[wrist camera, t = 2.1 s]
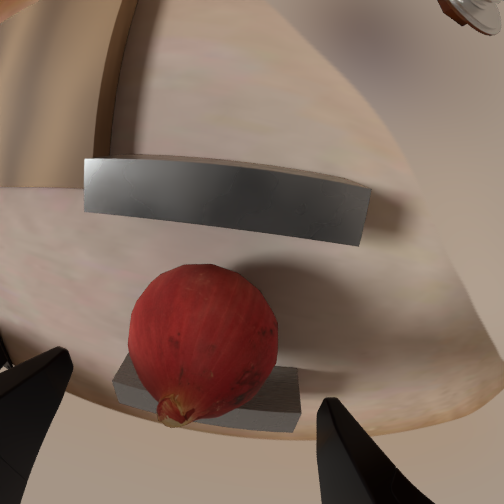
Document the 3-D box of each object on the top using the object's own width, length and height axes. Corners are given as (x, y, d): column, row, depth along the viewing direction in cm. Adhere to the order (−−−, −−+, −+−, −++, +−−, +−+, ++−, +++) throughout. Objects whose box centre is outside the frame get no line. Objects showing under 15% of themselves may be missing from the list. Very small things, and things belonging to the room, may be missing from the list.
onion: (294, 264, 13) (323, 399, 6) (250, 351, 15) (240, 479, 8) (178, 220, 13) (80, 314, 5) (153, 315, 15) (89, 428, 7)
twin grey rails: (138, 364, 16) (119, 402, 13) (126, 154, 12) (84, 158, 8) (289, 389, 16) (292, 432, 13) (343, 177, 12) (371, 188, 8)
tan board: (-14, 183, 12) (-28, 187, 11) (9, 29, 8) (-4, 26, 6) (108, 183, 12) (91, 189, 11) (146, -23, 8) (135, -36, 6)
